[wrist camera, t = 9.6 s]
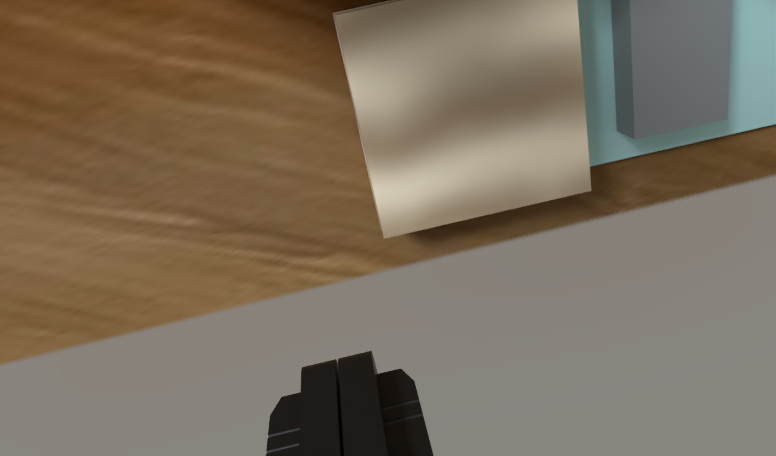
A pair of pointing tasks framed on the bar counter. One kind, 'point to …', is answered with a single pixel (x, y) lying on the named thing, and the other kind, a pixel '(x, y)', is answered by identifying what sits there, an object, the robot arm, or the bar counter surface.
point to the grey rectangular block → (670, 64)
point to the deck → (466, 106)
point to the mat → (745, 112)
